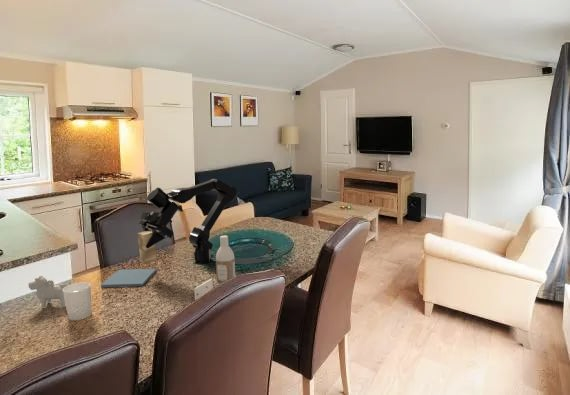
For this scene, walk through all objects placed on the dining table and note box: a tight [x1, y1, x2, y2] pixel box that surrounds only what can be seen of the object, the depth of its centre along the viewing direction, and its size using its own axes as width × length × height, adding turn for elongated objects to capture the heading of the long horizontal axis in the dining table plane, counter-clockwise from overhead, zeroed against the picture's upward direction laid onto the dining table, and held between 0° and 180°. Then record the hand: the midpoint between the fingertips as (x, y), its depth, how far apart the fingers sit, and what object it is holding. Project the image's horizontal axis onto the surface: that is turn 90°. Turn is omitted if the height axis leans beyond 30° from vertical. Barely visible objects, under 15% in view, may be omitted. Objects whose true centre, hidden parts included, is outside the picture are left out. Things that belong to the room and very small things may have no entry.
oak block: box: [137, 231, 158, 265], centre depth 152 cm, size 4×4×12 cm
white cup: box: [63, 281, 93, 321], centre depth 122 cm, size 8×8×10 cm
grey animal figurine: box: [27, 275, 68, 309], centre depth 130 cm, size 5×13×11 cm, turn 93°
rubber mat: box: [100, 268, 157, 288], centre depth 154 cm, size 16×16×1 cm
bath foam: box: [215, 234, 236, 285], centre depth 141 cm, size 7×7×20 cm
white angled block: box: [194, 278, 214, 301], centre depth 127 cm, size 4×10×9 cm, turn 84°
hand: (143, 246), depth 151 cm, fingers closed on oak block, 5 cm apart
